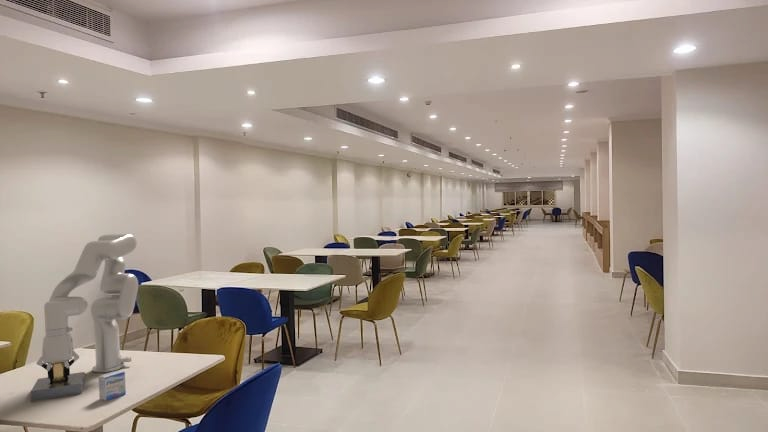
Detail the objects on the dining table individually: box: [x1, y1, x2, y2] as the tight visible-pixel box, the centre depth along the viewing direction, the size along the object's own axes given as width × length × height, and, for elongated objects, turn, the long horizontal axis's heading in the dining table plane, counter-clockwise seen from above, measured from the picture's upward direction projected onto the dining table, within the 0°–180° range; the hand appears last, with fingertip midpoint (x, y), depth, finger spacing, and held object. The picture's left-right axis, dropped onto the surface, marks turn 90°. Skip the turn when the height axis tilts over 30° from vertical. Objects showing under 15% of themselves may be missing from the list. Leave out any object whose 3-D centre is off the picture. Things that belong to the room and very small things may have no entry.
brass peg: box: [51, 361, 66, 384], centre depth 200 cm, size 4×4×10 cm
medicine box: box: [98, 370, 127, 402], centre depth 192 cm, size 8×4×9 cm, turn 148°
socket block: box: [30, 371, 86, 403], centre depth 200 cm, size 16×16×4 cm
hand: (59, 378), depth 200 cm, fingers closed on brass peg, 4 cm apart
